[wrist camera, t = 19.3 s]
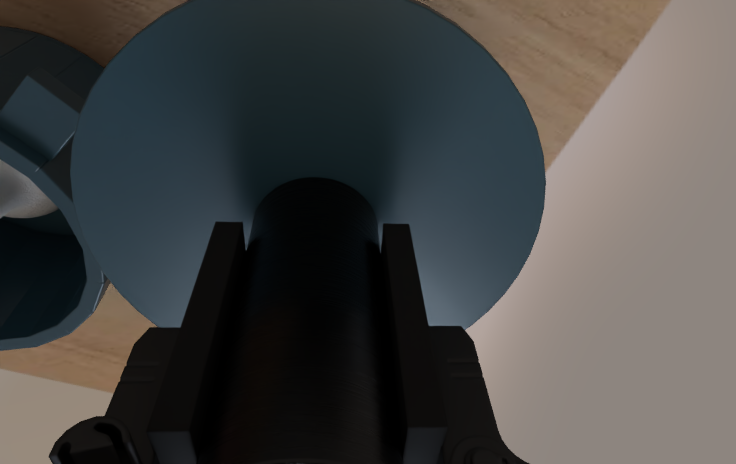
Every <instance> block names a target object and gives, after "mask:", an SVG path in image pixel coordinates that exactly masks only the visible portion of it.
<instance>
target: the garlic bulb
mask: <svg viewBox="0 0 736 464" xmlns="http://www.w3.org/2000/svg"><path fill="white" fill-rule="evenodd" d="M58 209H59V208H58V207H57V206H56V205H55V204H54V203H53V202H52V201H51V200H50V199H49V198H48V197H47V196H46V195H45V194H44V193H43V192H42V191H41V190H40V189H39V188H38V187H37V186H36V185H35V184H34V183H33V182H32V181H31V180H30V179H29V178H28V177H26V176H25V175H23V174H22V173H20V172H19V171H17V170H16V169H14V168H13V167H11V166H9V165H8V164H6V163H5V162H3V161H2V160H0V218H2V217H3V216H6V217H12V218H33V217H39V216H43V215H47V214H49V213H52V212H54V211H56V210H58Z"/></svg>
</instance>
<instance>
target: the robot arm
mask: <svg viewBox="0 0 736 464" xmlns="http://www.w3.org/2000/svg"><path fill="white" fill-rule="evenodd" d="M245 253H246V247H245V238H244V230H243V222H224V221H215V224H214V227H213V230H212V233H211V236H210V239H209V242H208V245H207V248H206V251H205V254H204V258H203V261H202V264H201V267H200V270H199V273H198V276H197V279H196V282H195V285H194V288H193V291H192V294H191V297H190V300H189V303H188V306H187V309H186V312H185V315H184V318H183V321H182V324H181V327H150V328H149V329H148V330H147V331H146V332H145V333H144V334H143V335H142V336H141V337H140V339H139V340H138V341H137V342H136V343H135V344H134V346H133V348H132V351H131V353H130V356H129V358H128V361H127V366H125V368H124V370H123V373H122V375H121V377H120V382H118V385H117V387H116V390H115V392H114V394H113V397H112V399H111V402H110V404H109V407H108V409H107V412H106V414H105V416H96V417H93V418H90V419H87V420H84V421H81V422H79V423H77V424H76V425H74V426H73V427H71V428H70V429H68V430H66V432H65V433H64V434H63V435H62V436H61V437H60V438H59V439H58V440H57V441H56V442H55V444H54V446H53V448H52V450H51V452H50V454H49V458H50V460H51V462H52V463H53V464H197V463H198V458H199V454H200V450H201V445H202V441H203V437H204V432H205V428H206V423H207V419H208V415H209V410H210V406H211V402H212V397H213V393H214V389H215V384H216V380H217V376H218V371H219V367H220V362H221V358H222V354H223V349H224V345H225V341H226V336H227V332H228V328H229V323H230V319H231V315H232V310H233V306H234V301H235V297H236V293H237V288H238V284H239V280H240V275H241V271H242V267H243V262H244V258H245ZM381 260H382V269H383V279H384V288H385V297H386V306H387V316H388V325H389V334H390V344H391V353H392V362H393V371H394V381H395V390H396V399H397V408H398V418H399V427H400V436H401V445H402V455H403V463H404V464H529V463H527V462H525V461H523V460H522V459H520V458H519V457H517V456H516V455H514V453H512V452H511V451H510V450H509V449H508V447H507V446H506V445H505V444H504V442H503V440H502V439H501V436H500V434H499V431H498V428H497V424H496V421H495V417H494V414H493V410H492V406H491V403H490V399H489V396H488V392H487V388H486V385H485V381H484V378H483V376H482V370H481V367H480V363H479V362H478V356H477V352H476V349H475V345H474V342H473V340H472V339H471V338H470V336H469V335H468V334H467V333H466V331H465V330H464V329H463V328H462V326H429V325H428V320H427V314H426V309H425V304H424V299H423V294H422V288H421V283H420V278H419V273H418V267H417V262H416V257H415V252H414V247H413V241H412V236H411V231H410V226H409V224H391V223H383V231H382V244H381Z"/></svg>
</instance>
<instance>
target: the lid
mask: <svg viewBox="0 0 736 464" xmlns="http://www.w3.org/2000/svg"><path fill="white" fill-rule="evenodd" d="M70 178H71V188H72V198H73V204H74V207H75V211H76V215H77V219H78V222H79V226H80V229H81V231H82V233H83V236H84V238H85V240H86V243H87V245H88V247H89V249H90V252H91V253H92V255H93V256H94V258H95V260H96V261H97V263H98V265H99V266H100V268H101V270H102V271H103V273H104V274H105V275H106V277H107V278H108V279H109V280H110V282H111V283H112V284H113V285H114V287H115V288H116V289H117V290H118V292H119V293H120V294H121V295H122V296H123V297H124V298H125V299H126V300H127V301H128V302H129V303H130V304H131V305H132V306H133V307H134V308H135V309H136V310H137V311H139V312H140V313H141V314H142V315H144V316H145V317H146V318H147V319H149V320H150V321H151V322H152V323H154V324H155V325H156V326H158V327H181V324H182V321H183V318H184V315H185V312H186V309H187V306H188V303H189V300H190V297H191V294H192V291H193V288H194V285H195V282H196V279H197V276H198V273H199V270H200V267H201V264H202V261H203V258H204V254H205V251H206V248H207V245H208V242H209V239H210V236H211V233H212V230H213V227H214V224H215V221H224V222H243V230H244V238H245V247H246V253H245V258H244V262H243V267H242V271H241V275H240V280H239V284H238V288H237V293H236V297H235V301H234V306H233V310H232V315H231V319H230V323H229V328H228V332H227V336H226V341H225V345H224V349H223V354H222V358H221V362H220V367H219V371H218V376H217V380H216V384H215V389H214V393H213V397H212V402H211V406H210V410H209V415H208V419H207V423H206V428H205V432H204V437H203V441H202V445H201V450H200V454H199V458H198V463H197V464H404V463H403V455H402V445H401V436H400V427H399V418H398V408H397V399H396V390H395V381H394V371H393V362H392V353H391V344H390V334H389V325H388V316H387V306H386V297H385V288H384V279H383V269H382V260H381V244H382V231H383V223H391V224H409V226H410V231H411V236H412V241H413V247H414V252H415V257H416V262H417V267H418V273H419V278H420V283H421V288H422V294H423V299H424V304H425V309H426V314H427V320H428V325H429V326H462V328H463V329H464V330H466V329H467V328H468V327H470V326H471V325H472V324H474V323H475V322H476V321H477V320H478V319H480V318H481V317H482V316H483V315H484V314H485V313H487V312H488V311H489V310H490V309H491V308H492V307H493V306H494V305H495V303H496V302H497V301H498V300H499V299H500V298H501V297H502V296H503V295H504V294H505V293H506V291H507V290H508V289H509V287H510V286H511V284H512V283H513V282H514V280H515V279H516V278H517V276H518V275H519V273H520V271H521V269H522V268H523V266H524V264H525V262H526V260H527V258H528V257H529V255H530V253H531V250H532V247H533V245H534V242H535V240H536V237H537V234H538V231H539V227H540V223H541V218H542V214H543V210H544V200H545V186H546V180H545V179H546V178H545V167H544V155H543V151H542V147H541V143H540V139H539V135H538V131H537V128H536V125H535V123H534V121H533V119H532V116H531V114H530V112H529V109H528V107H527V105H526V102H525V100H524V99H523V97H522V96H521V94H520V93H519V91H518V89H517V88H516V86H515V85H514V83H513V82H512V80H511V78H510V77H509V75H508V74H507V73H506V71H505V70H504V69H503V68H502V67H501V65H500V64H499V63H498V62H497V61H496V60H495V59H494V58H493V56H492V55H491V54H490V53H489V52H488V51H487V50H486V49H485V47H484V46H483V45H482V44H480V43H479V42H478V41H477V40H476V39H474V38H473V37H472V36H471V35H470V34H468V33H467V32H466V31H465V30H464V29H462V28H461V27H460V26H459V25H458V24H456V23H455V22H453V21H452V20H450V19H448V18H447V17H445V16H443V15H442V14H440V13H438V12H437V11H435V10H433V9H432V8H430V7H428V6H427V5H425V4H423V3H421V2H418V1H416V0H188V1H186V2H184V3H182V4H180V5H178V6H176V7H175V8H173V9H171V10H169V11H167V12H165V13H164V14H162V15H161V16H160V17H158V18H157V19H156V20H154V21H153V22H152V23H150V24H149V25H148V26H146V27H145V28H144V29H142V30H141V31H139V32H138V33H137V34H136V35H135V36H134V37H133V38H132V39H131V40H130V41H129V42H128V43H127V44H126V45H125V46H124V47H123V48H122V49H121V50H120V51H119V52H118V53H117V54H116V55H115V56H114V57H113V58H112V59H111V60H110V61H109V63H108V64H107V66H106V67H105V69H104V70H103V72H102V73H101V75H100V76H99V78H98V79H97V81H96V82H95V84H94V85H93V87H92V88H91V90H90V92H89V95H88V97H87V99H86V101H85V104H84V106H83V108H82V110H81V113H80V115H79V118H78V122H77V126H76V130H75V134H74V138H73V142H72V150H71V165H70Z"/></svg>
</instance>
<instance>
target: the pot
mask: <svg viewBox="0 0 736 464" xmlns="http://www.w3.org/2000/svg"><path fill="white" fill-rule="evenodd" d="M103 70H104V68H103V67H102V66H100V65H99V64H98V63H96V62H95V61H93V60H92V59H91V58H89V57H88V56H86V55H84V54H83V53H81V52H79V51H78V50H76V49H74V48H72V47H70V46H68V45H66V44H64V43H62V42H60V41H57V40H55V39H53V38H50V37H47V36H44V35H41V34H38V33H35V32H31V31H27V30H22V29H18V28H11V27H1V26H0V160H2V161H3V162H5V163H6V164H8V165H9V166H11V167H13V168H14V169H16V170H17V171H19V172H20V173H22V174H23V175H25V176H26V177H28V178H29V179H30V180H31V181H32V182H33V183H34V184H35V185H36V186H37V187H38V188H39V189H40V190H41V191H42V192H43V193H44V194H45V195H46V196H47V197H48V198H49V199H50V200H51V201H52V202H53V203H54V204H55V205H56V206H57V207H58V208H59V209H58V210H56V211H54V212H52V213H49V214H47V215H43V216H39V217H33V218H12V217H6V216H3V217H2V218H0V351H3V350H12V349H22V348H31V347H37V346H40V345H43V344H46V343H48V342H51V341H53V340H56V339H58V338H61V337H63V336H66V335H69V334H70V333H72V332H73V331H74V330H75V329H76V328H78V327H79V326H80V325H81V324H82V323H83V322H84V321H85V320H86V319H87V318H88V317H90V316H91V315H92V314H93V313H94V311H95V310H96V308H97V306H98V304H99V302H100V301H101V299H102V297H103V295H104V293H105V291H106V290H107V288H108V286H109V284H110V280H109V279H108V278H107V277H106V275H105V274H104V273H103V271H102V270H101V268H100V266H99V265H98V263H97V261H96V260H95V258H94V256H93V255H92V253H91V252H90V249H89V247H88V245H87V243H86V240H85V238H84V236H83V233H82V231H81V229H80V226H79V222H78V219H77V215H76V211H75V207H74V204H73V198H72V188H71V178H70V165H71V150H72V142H73V138H74V134H75V130H76V126H77V122H78V118H79V115H80V113H81V110H82V108H83V106H84V104H85V101H86V99H87V97H88V95H89V92H90V90H91V88H92V87H93V85H94V84H95V82H96V81H97V79H98V78H99V76H100V75H101V73H102V72H103Z"/></svg>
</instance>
